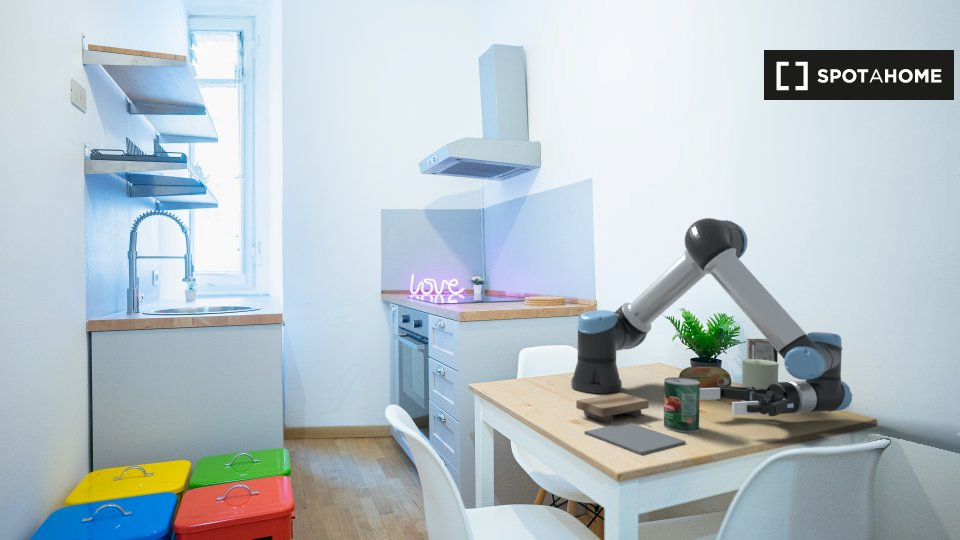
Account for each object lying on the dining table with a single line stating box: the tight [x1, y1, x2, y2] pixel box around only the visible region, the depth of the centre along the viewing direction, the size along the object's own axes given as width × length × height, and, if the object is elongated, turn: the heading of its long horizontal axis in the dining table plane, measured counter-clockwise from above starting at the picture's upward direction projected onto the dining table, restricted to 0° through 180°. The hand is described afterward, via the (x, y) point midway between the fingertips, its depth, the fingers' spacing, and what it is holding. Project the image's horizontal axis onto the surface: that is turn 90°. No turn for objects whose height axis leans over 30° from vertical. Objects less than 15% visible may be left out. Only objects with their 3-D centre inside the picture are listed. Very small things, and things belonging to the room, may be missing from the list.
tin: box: [678, 366, 732, 388], centre depth 163 cm, size 15×3×8 cm, turn 91°
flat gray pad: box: [584, 422, 687, 456], centre depth 121 cm, size 16×14×1 cm
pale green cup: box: [740, 358, 780, 402], centre depth 154 cm, size 9×9×12 cm
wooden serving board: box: [575, 392, 650, 424], centre depth 138 cm, size 9×16×4 cm, turn 123°
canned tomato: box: [663, 376, 701, 434], centre depth 129 cm, size 8×8×11 cm
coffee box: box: [746, 338, 779, 363], centre depth 165 cm, size 9×6×16 cm
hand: (713, 401), depth 131 cm, fingers open, 13 cm apart
